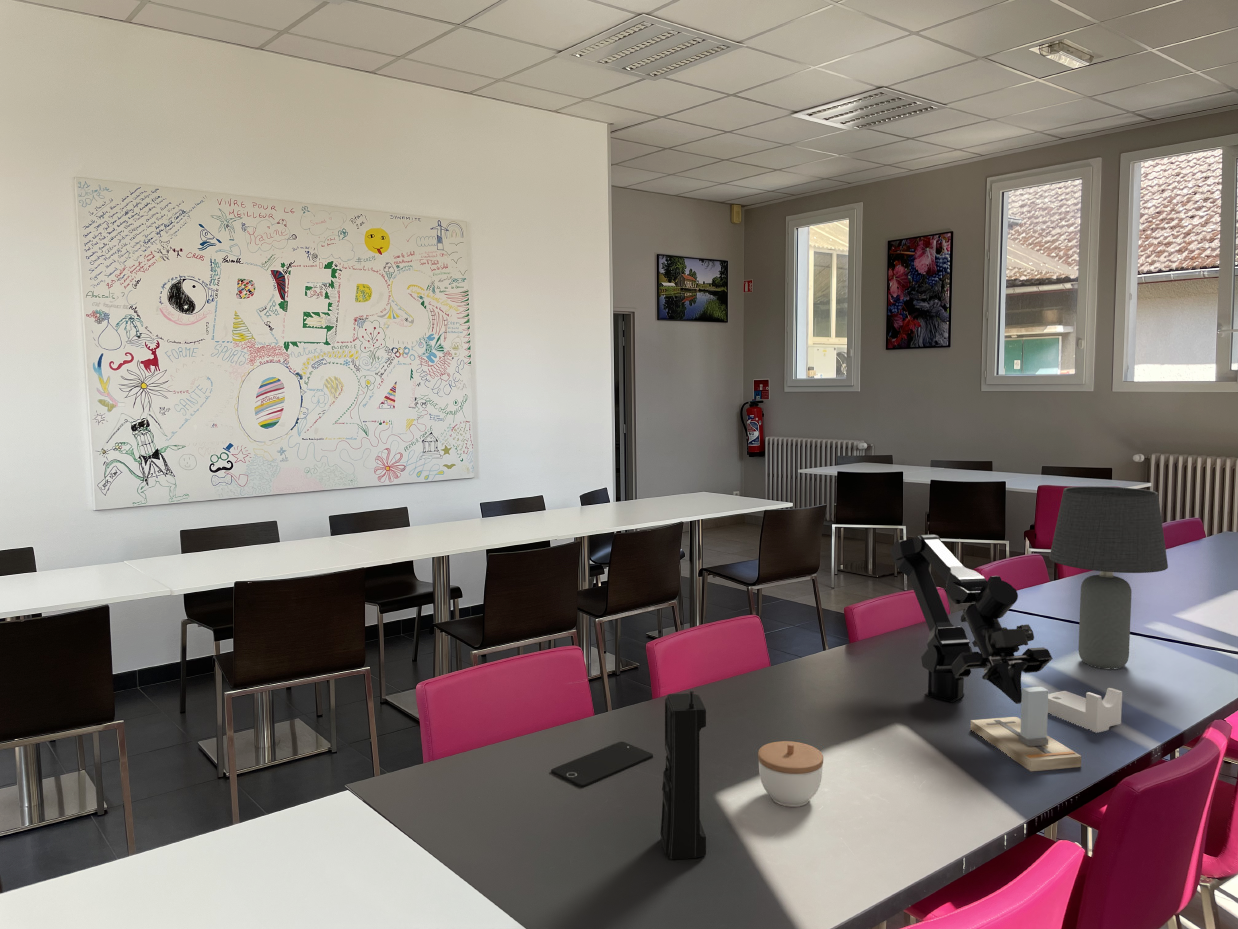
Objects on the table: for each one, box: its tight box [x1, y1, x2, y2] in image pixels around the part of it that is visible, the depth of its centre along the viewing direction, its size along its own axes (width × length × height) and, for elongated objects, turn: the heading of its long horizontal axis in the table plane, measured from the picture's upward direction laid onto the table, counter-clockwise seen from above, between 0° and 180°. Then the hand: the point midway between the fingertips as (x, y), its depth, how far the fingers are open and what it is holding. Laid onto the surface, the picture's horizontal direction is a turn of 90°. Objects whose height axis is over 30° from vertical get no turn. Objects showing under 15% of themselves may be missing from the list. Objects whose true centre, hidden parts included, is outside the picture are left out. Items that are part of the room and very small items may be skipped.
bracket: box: [1048, 687, 1123, 734], centre depth 177 cm, size 13×7×8 cm, turn 24°
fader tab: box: [1019, 686, 1049, 746], centre depth 160 cm, size 3×4×10 cm
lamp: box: [1048, 485, 1169, 670], centre depth 210 cm, size 25×25×43 cm
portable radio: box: [660, 690, 707, 860], centre depth 129 cm, size 8×6×25 cm
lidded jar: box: [757, 740, 824, 808], centre depth 144 cm, size 11×11×9 cm
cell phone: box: [550, 741, 654, 789], centre depth 158 cm, size 9×18×1 cm, turn 133°
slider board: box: [970, 716, 1082, 772], centre depth 163 cm, size 19×10×2 cm, turn 9°
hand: (1019, 702), depth 164 cm, fingers closed
